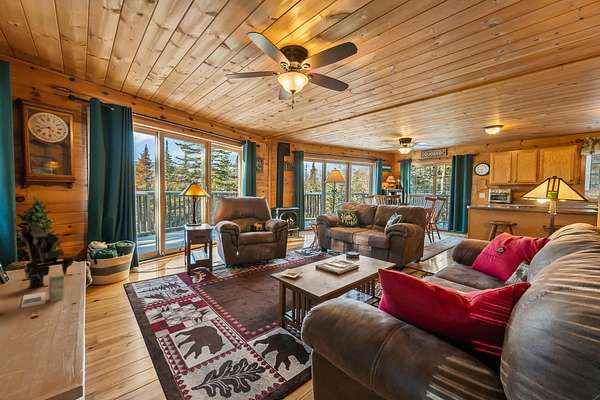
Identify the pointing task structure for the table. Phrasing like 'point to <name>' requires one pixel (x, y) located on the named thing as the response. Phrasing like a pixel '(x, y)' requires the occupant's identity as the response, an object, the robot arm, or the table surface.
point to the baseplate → (33, 299)
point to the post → (56, 287)
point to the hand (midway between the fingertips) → (53, 277)
